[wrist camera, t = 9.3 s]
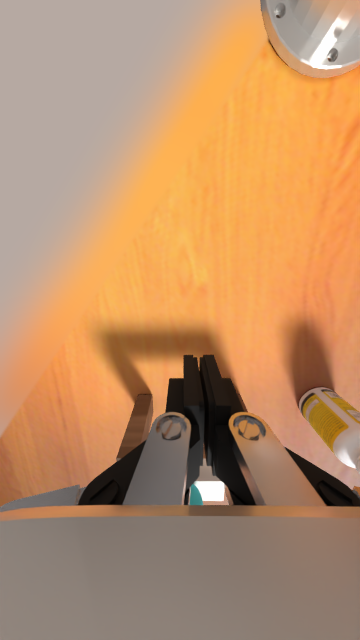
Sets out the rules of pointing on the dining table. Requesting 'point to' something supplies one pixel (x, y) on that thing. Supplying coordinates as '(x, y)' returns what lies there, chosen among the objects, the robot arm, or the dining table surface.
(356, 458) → the supplement bottle
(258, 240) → the dining table surface
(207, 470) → the bridge
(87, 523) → the robot arm
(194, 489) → the ball
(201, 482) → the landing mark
